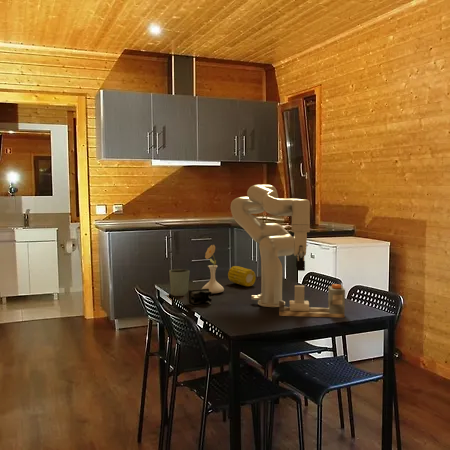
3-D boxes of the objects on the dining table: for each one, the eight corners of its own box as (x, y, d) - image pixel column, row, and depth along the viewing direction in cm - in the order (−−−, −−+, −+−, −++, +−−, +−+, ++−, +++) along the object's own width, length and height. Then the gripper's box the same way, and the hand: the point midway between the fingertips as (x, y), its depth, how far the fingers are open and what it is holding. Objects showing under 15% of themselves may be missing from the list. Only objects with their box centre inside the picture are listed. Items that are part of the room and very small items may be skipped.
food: (258, 286, 279) (258, 268, 278) (239, 288, 274) (239, 269, 273) (244, 281, 293) (244, 264, 292) (225, 283, 287) (225, 265, 286)
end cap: (206, 301, 243) (206, 287, 242) (212, 304, 236) (212, 290, 236) (186, 303, 238) (186, 289, 238) (192, 306, 232) (192, 292, 231)
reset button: (332, 288, 215) (332, 285, 215) (331, 286, 219) (331, 284, 219) (342, 288, 215) (342, 286, 215) (340, 287, 219) (340, 284, 219)
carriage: (289, 311, 216) (290, 287, 216) (289, 307, 223) (289, 284, 223) (309, 311, 216) (309, 287, 215) (308, 307, 223) (308, 284, 222)
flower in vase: (201, 290, 268) (201, 242, 266) (223, 290, 269) (223, 242, 267) (202, 295, 255) (202, 245, 253) (225, 295, 256) (225, 245, 254)
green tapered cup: (166, 295, 255) (166, 271, 254) (173, 291, 265) (173, 268, 264) (185, 296, 253) (185, 272, 252) (192, 292, 263) (192, 269, 262)
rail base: (279, 315, 216) (279, 288, 215) (279, 311, 224) (279, 284, 224) (344, 317, 213) (345, 290, 212) (342, 312, 222) (342, 286, 221)
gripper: (291, 227, 226) (291, 265, 227) (292, 230, 209) (292, 271, 210) (308, 227, 225) (308, 266, 226) (310, 230, 208) (310, 272, 209)
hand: (300, 268), depth 218 cm, fingers open, 9 cm apart
